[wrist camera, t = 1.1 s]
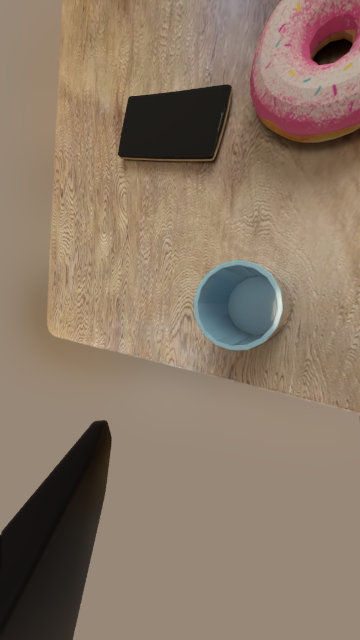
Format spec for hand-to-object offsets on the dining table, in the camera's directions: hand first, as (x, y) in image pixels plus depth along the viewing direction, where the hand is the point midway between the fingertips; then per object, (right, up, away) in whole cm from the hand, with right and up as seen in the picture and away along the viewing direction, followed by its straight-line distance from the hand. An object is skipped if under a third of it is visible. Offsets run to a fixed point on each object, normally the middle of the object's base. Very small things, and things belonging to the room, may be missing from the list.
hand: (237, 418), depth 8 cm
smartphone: (-3, +27, +22) cm, 35 cm away
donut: (+12, +26, +14) cm, 32 cm away
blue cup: (+7, +5, +18) cm, 20 cm away
